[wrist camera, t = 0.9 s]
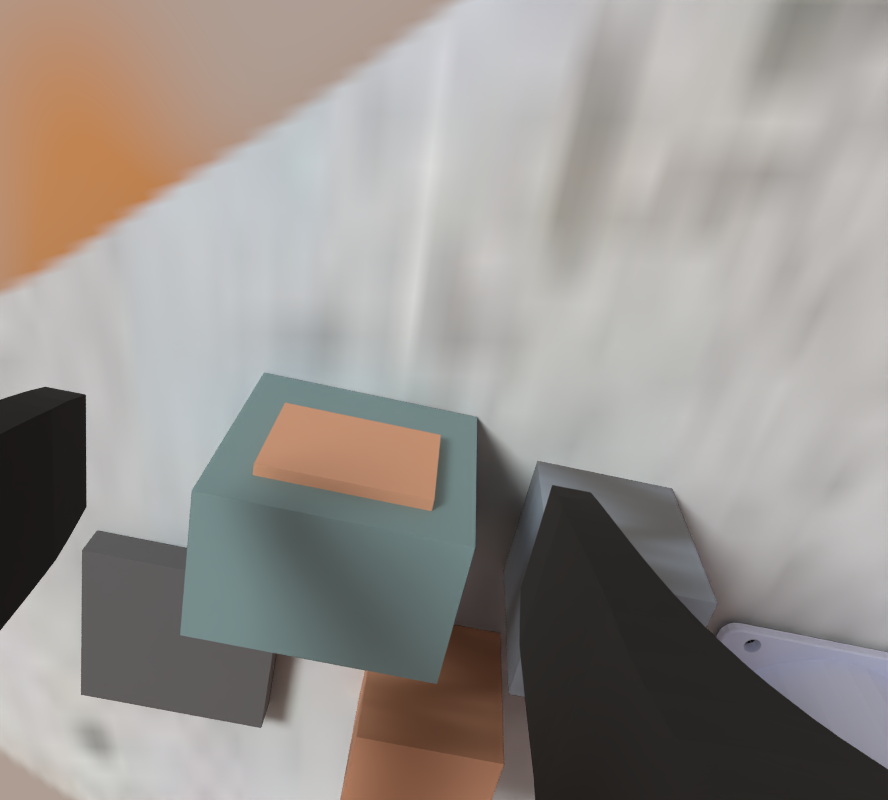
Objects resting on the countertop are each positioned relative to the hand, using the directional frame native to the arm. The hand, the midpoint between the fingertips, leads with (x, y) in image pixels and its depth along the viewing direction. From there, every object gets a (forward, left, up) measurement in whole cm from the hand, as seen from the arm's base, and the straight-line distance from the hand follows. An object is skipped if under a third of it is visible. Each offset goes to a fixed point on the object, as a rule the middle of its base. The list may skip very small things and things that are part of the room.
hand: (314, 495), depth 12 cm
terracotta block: (-4, +12, -10) cm, 16 cm away
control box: (0, +5, -9) cm, 11 cm away
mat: (+4, +12, -9) cm, 16 cm away
